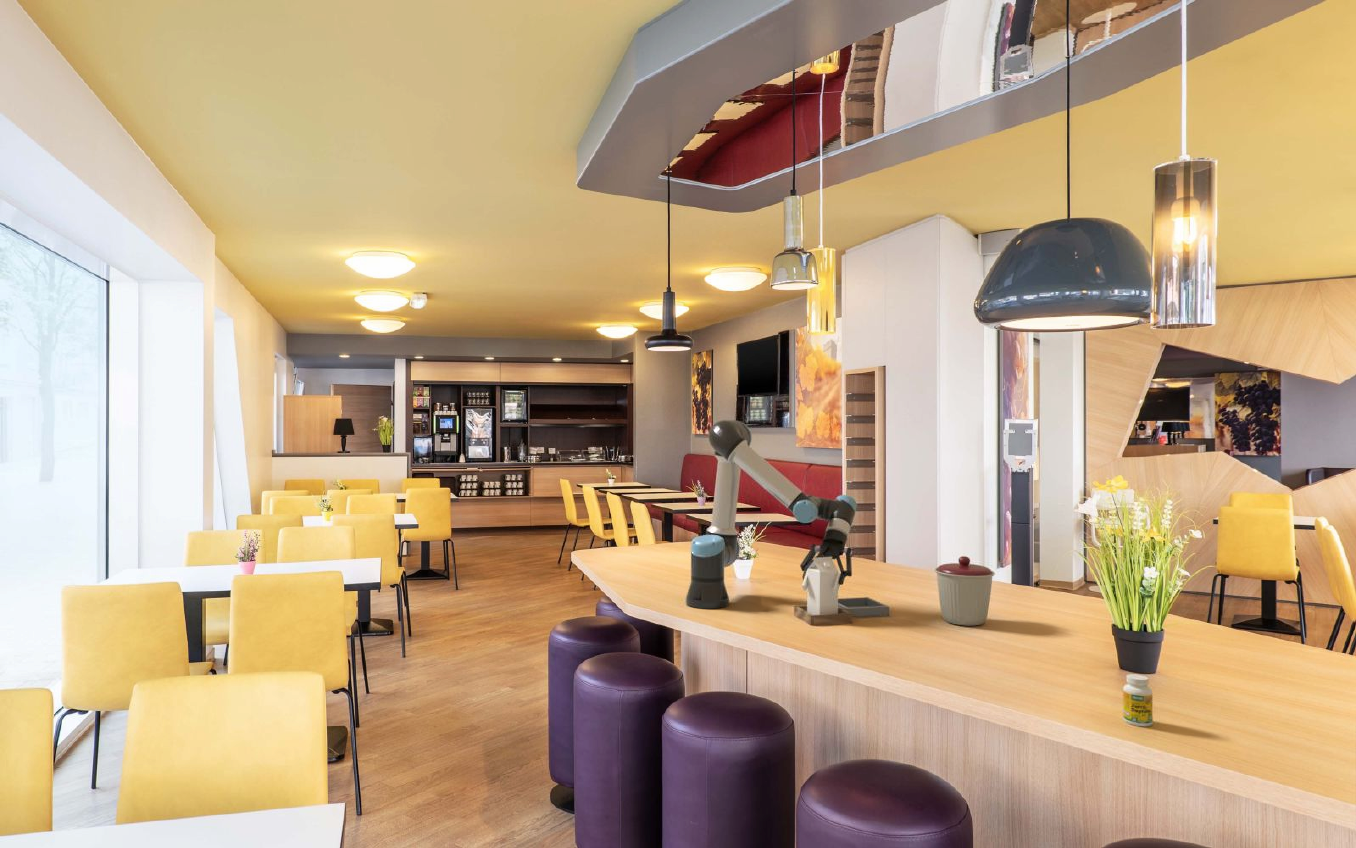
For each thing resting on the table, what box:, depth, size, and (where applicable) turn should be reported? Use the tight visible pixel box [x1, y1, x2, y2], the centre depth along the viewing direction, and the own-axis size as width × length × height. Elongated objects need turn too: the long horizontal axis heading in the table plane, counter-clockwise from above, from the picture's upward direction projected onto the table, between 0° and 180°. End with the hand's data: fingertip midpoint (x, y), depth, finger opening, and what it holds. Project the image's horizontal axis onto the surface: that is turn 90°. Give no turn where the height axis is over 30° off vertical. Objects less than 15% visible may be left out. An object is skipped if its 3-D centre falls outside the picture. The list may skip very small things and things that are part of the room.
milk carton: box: [806, 557, 839, 615], centre depth 257 cm, size 7×7×19 cm
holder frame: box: [793, 604, 853, 626], centre depth 257 cm, size 14×14×3 cm
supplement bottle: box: [1122, 673, 1154, 728], centre depth 167 cm, size 5×5×10 cm
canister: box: [934, 555, 995, 627], centre depth 254 cm, size 18×18×21 cm
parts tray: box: [838, 596, 890, 619], centre depth 268 cm, size 15×15×3 cm
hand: (819, 590), depth 255 cm, fingers closed on milk carton, 10 cm apart
